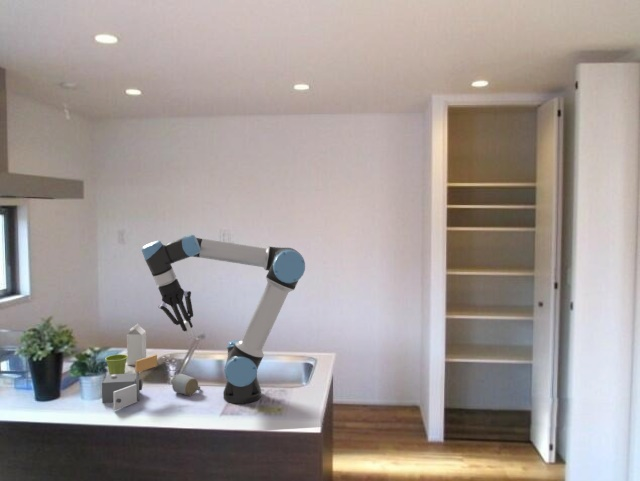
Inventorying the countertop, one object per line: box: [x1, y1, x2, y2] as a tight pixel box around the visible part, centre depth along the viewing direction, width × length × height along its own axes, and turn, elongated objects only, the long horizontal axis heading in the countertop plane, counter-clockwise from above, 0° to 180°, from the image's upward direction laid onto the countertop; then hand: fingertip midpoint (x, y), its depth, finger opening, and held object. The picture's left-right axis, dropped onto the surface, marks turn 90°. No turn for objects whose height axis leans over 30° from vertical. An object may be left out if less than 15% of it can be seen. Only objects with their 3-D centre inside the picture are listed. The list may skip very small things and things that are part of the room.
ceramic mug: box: [171, 373, 201, 397], centre depth 207 cm, size 11×8×8 cm
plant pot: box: [105, 354, 128, 375], centre depth 227 cm, size 9×9×9 cm
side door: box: [112, 354, 158, 411], centre depth 196 cm, size 20×2×16 cm, turn 150°
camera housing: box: [101, 372, 144, 404], centre depth 202 cm, size 14×10×9 cm
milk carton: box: [126, 322, 147, 366], centre depth 246 cm, size 7×7×19 cm
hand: (191, 336), depth 192 cm, fingers closed
